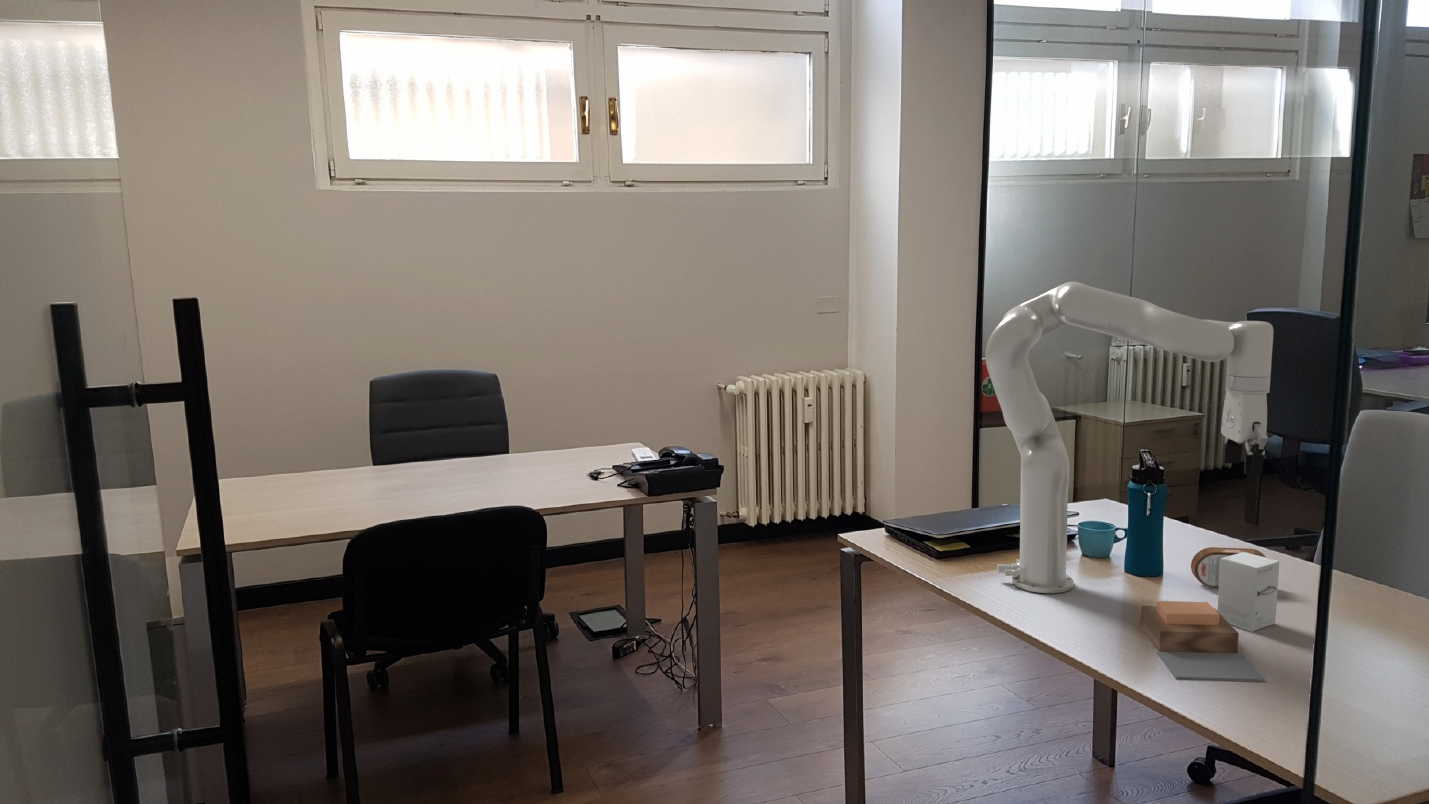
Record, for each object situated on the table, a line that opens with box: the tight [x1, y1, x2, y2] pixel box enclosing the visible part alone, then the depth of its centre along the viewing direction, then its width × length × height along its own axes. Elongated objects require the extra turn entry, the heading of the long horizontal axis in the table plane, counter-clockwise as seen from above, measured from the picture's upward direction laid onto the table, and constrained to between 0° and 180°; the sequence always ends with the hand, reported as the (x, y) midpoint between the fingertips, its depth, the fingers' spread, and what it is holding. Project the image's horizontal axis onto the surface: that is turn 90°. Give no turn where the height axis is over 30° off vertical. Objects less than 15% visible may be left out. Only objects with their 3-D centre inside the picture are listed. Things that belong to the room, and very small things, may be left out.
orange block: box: [1155, 600, 1220, 625], centre depth 173 cm, size 9×6×2 cm, turn 81°
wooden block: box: [1139, 605, 1239, 654], centre depth 173 cm, size 13×12×4 cm
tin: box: [1190, 546, 1266, 589], centre depth 197 cm, size 15×3×8 cm, turn 78°
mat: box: [1157, 650, 1266, 683], centre depth 162 cm, size 14×10×1 cm
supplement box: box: [1216, 552, 1280, 633], centre depth 179 cm, size 7×7×13 cm
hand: (1242, 468), depth 188 cm, fingers open, 9 cm apart
